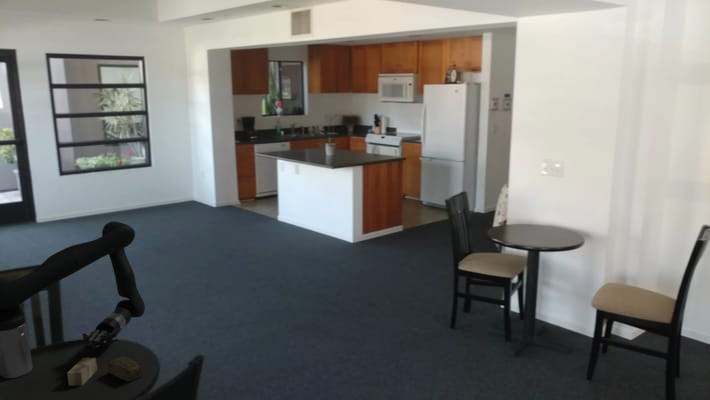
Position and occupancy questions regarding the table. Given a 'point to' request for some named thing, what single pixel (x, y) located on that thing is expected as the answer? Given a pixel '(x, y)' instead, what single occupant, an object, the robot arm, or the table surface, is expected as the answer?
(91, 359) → the maple block
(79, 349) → the table surface
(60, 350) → the table surface
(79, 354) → the table surface
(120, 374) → the stone block
